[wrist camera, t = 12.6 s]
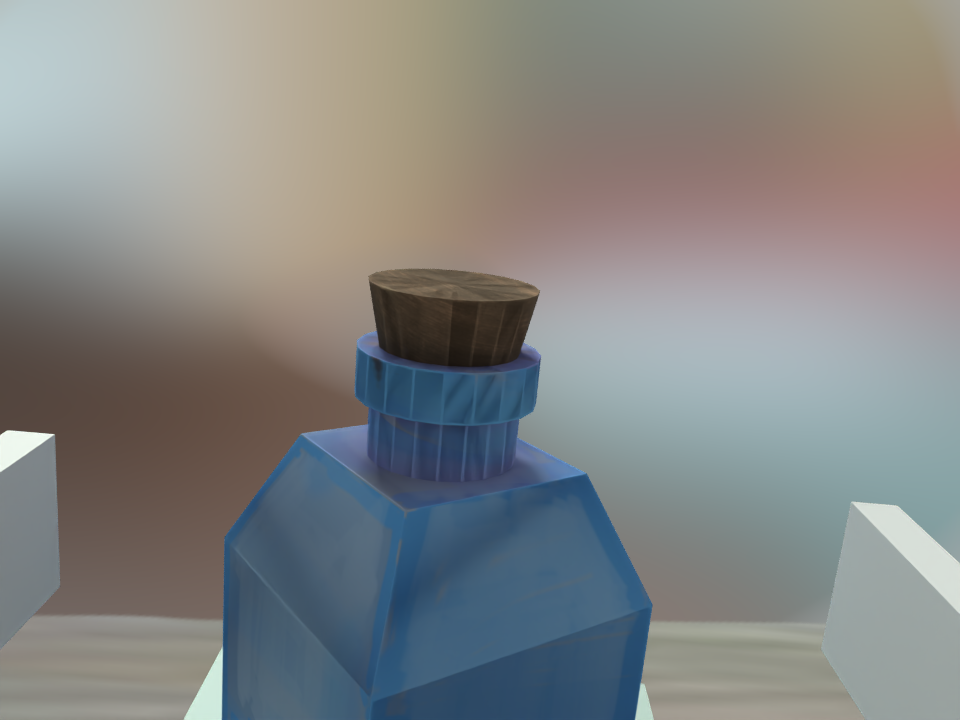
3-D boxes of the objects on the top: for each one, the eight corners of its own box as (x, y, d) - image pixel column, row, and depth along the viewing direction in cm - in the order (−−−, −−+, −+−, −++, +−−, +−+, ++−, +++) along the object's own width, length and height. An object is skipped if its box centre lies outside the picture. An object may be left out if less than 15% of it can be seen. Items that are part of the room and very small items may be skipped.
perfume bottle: (612, 868, 19) (696, 311, 16) (350, 1017, 15) (394, 332, 12) (449, 705, 24) (489, 254, 21) (220, 789, 20) (229, 258, 17)
